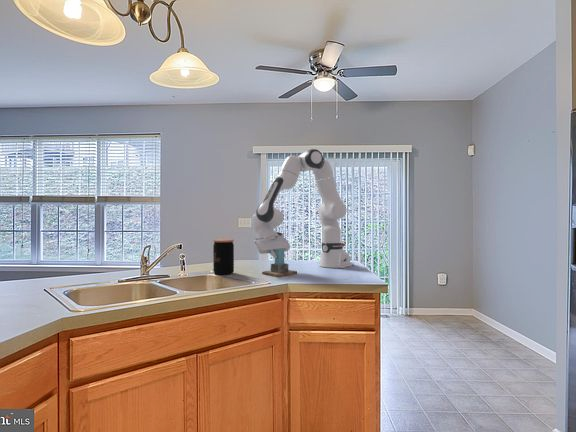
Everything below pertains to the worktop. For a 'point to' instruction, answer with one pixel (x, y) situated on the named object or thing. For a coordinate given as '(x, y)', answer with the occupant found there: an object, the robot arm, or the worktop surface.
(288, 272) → the wooden block on base
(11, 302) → the worktop surface
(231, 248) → the coffee jar
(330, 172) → the robot arm
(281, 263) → the post
